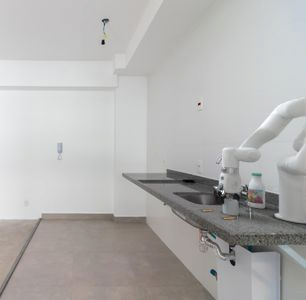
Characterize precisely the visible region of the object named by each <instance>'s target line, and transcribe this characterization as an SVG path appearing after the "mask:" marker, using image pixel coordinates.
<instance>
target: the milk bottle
mask: <svg viewBox="0 0 306 300" xmlns="http://www.w3.org/2000/svg"><path fill="white" fill-rule="evenodd" d="M262 176H263V174H262V173H261V172H251V180H250V182H249V183H248V187H247V206H248V207H249V208H254V209H265V208H266V186H265V184H264V182H263V180H262ZM249 203H250V205H251V206H250V205H249Z"/></svg>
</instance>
